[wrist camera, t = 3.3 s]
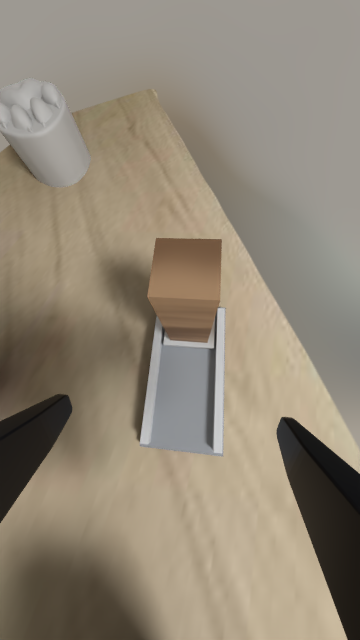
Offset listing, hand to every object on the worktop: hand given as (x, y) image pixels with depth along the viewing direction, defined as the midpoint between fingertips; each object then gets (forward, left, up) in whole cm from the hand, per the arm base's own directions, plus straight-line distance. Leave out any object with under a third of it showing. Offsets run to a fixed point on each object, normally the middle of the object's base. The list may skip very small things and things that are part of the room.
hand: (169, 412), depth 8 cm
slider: (+2, -1, -13) cm, 14 cm away
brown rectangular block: (+7, -3, -13) cm, 15 cm away
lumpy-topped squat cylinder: (+43, +9, -14) cm, 46 cm away
